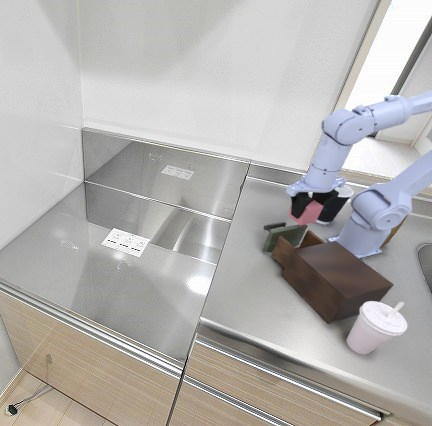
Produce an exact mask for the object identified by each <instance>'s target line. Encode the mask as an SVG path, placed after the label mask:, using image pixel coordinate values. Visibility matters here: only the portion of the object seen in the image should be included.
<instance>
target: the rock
mask: <svg viewBox="0 0 432 426" xmlns="http://www.w3.org/2000/svg"><path fill="white" fill-rule="evenodd" d="M408 216H409V214H408V215H407V216H406V217H405V218H404V219H403V220H402V221H401V223H400V224H399V225H397V226H396V227H394V228H392V229H391V233H390V234H389V236H388V237H387V238H386V240H385V241H384V243H383V244H382V245H381V247H380V249H382V248H383V247H385V246H386V245H387V244H388V243H390V241H391V240H392V238H393V237H394V236H395V235H396V234H397V232H398V231H399V230H400V228H401V227H402V226H403V224H404V222H405V220H406V219H407V217H408Z"/></svg>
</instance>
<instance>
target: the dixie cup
mask: <svg viewBox="0 0 432 426" xmlns="http://www.w3.org/2000/svg"><path fill="white" fill-rule="evenodd" d="M334 190H336V191H338V192H339V195H338V196H337V197H336V198H334V199H332V200H331V201H330V202H328V203H327V204H326V205H325V206H324V207H323V208H322V210H321V212H320V214H319V216H318V218H317V220H316V222H315V223H317V224H320V225H330V224H331V222H333V221H334V219H335V218H336V217H337V215H338V214H339V213H340V212H341V210H342V208H343V207H344V206H345V205H346V203H348V200H350V198H352V197H353V196H354V195H355V194H354V193H355V191H354V190H353V189H352V188H351V187H349V185H346V184H345V185H344V187H343V188H339V187H336V188H335V189H334Z"/></svg>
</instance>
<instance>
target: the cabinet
mask: <svg viewBox="0 0 432 426" xmlns="http://www.w3.org/2000/svg"><path fill="white" fill-rule="evenodd" d="M281 277H282V278H283V279H284V280H285V281H286V283H288V285H290V287H292V289H293V290H295V292H296V293H297V294H298V295H299V296H300V297H301V298H302V299H303V300H304V301H305V303H307V304H308V305H309V306H310V308H312V309H313V311H314V312H316V313H317V315H318V316H319V317H320V318H321V319H322V320H323V321H324V322H325V323H326V324H327V325H330V324H333V323H335V322H340V321H343V320H346V319H349V318H354V317H356V316H359V314H360V307H361V306H362V305H363V304H364V303H365V302H368V301H376V302H380V303H381V301H382V300H383V299H384V298H385V296H386V295H387V294H388V293H389V292H390V290H392V288H393V287H394V285H395V284H394V283H393V282H391V281H390V280H388V279H387V278H386V277H385V276H384V275H382V274H381V273H379V272H378V271H377V270H375V269H374V268H372V267H371V265H369V264H367V263H366V262H365V261H363V260H362V258H358V257H357V256H355V255H354V254H353V253H351V252H350V251H349V250H347V249H346V248H345V247H343V246H342V245H341V244H339V243H338V242H337V241H331V242H329V241H326V243H322V244H318V245H314V246H310V247H305V248H301V249H297V250H293V252H292V255H291V257H290V259H289V261H288V263H287V265H286V267H285V268H284V269H283V271H282V273H281Z"/></svg>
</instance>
